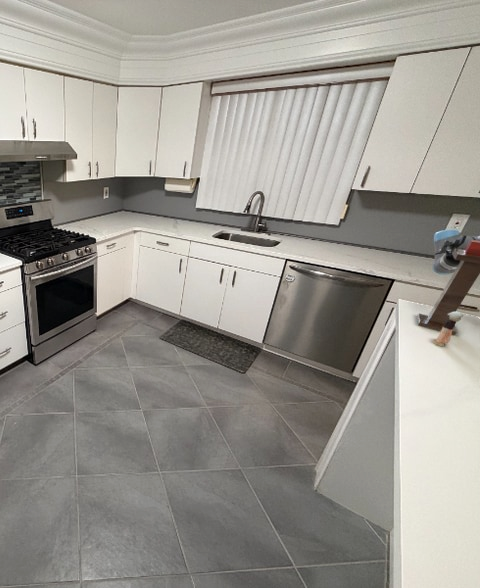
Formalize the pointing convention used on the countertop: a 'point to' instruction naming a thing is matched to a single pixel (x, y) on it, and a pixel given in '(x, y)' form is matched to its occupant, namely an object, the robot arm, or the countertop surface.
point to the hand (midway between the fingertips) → (479, 241)
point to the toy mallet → (473, 248)
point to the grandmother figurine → (448, 328)
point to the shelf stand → (453, 291)
